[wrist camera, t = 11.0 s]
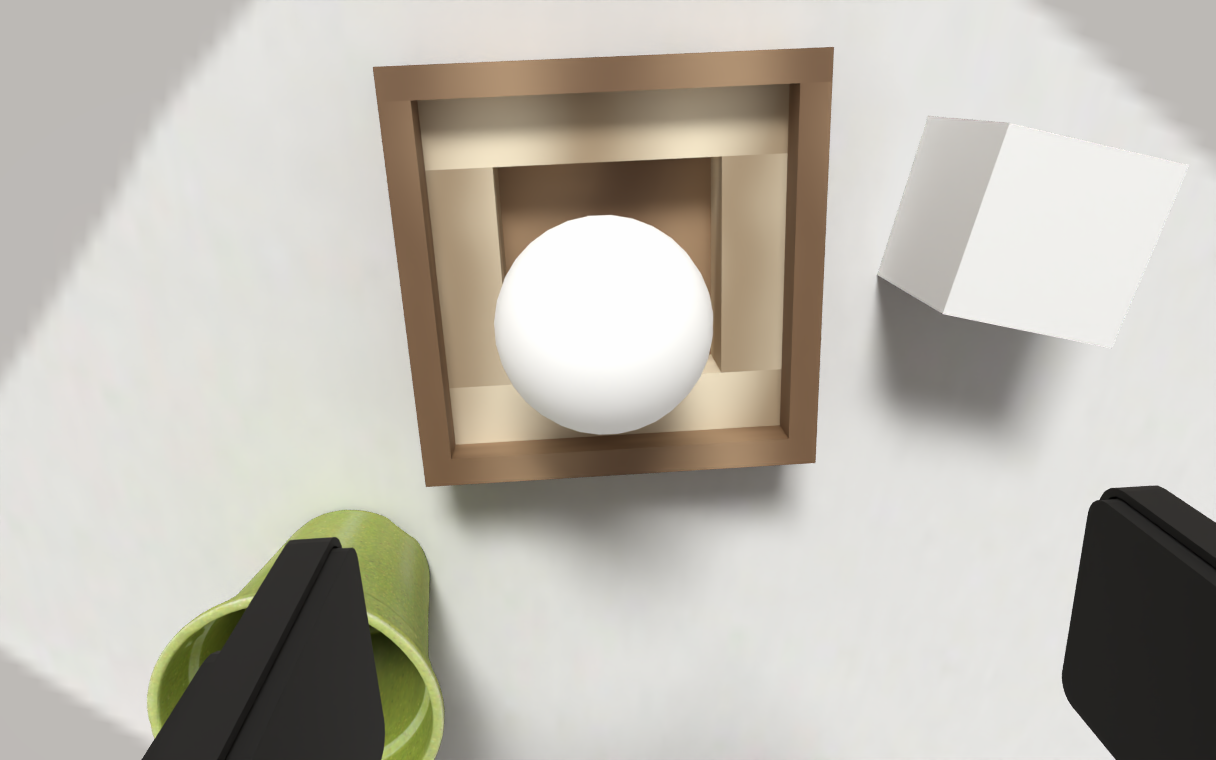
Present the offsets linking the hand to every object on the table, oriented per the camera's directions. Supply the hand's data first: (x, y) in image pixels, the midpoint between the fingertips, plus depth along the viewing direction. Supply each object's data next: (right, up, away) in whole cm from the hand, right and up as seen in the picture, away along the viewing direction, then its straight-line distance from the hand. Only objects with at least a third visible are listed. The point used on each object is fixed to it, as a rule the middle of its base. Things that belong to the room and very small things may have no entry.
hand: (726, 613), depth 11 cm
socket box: (-2, +7, +21) cm, 22 cm away
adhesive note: (+12, +9, +21) cm, 26 cm away
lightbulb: (-2, +7, +21) cm, 22 cm away
